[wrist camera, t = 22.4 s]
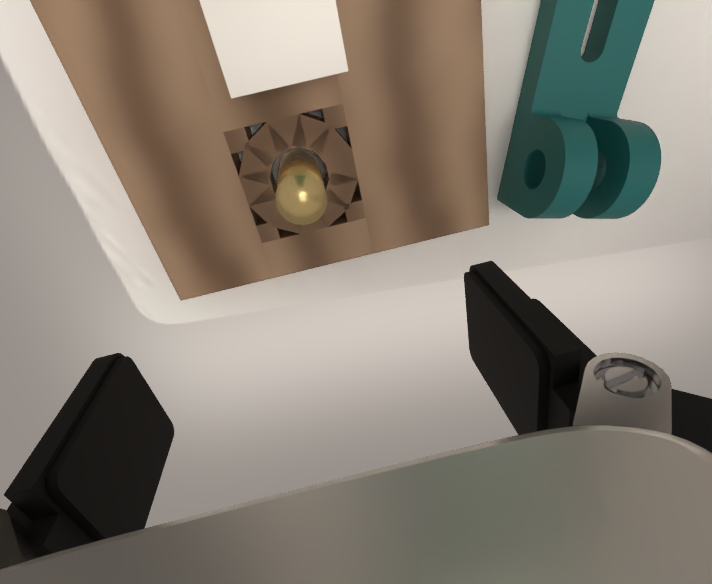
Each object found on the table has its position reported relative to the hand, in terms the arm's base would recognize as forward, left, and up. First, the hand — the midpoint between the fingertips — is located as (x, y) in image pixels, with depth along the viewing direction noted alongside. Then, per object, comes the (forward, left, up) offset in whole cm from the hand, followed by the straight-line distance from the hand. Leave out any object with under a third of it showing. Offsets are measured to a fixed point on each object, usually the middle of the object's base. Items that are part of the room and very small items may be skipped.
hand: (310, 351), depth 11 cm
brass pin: (0, 0, -22) cm, 22 cm away
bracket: (-21, -2, -23) cm, 31 cm away
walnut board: (-1, -3, -22) cm, 23 cm away
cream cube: (-1, -9, -20) cm, 22 cm away
